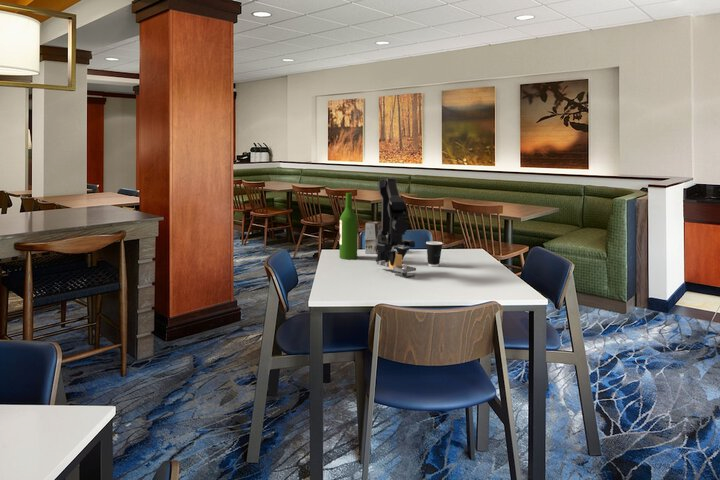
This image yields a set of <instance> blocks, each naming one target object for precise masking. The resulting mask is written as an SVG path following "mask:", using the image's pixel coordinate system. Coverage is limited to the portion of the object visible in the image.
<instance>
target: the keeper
mask: <svg viewBox="0 0 720 480" xmlns="http://www.w3.org/2000/svg"><path fill="white" fill-rule="evenodd" d="M402 265H403V266H402V269H407V266H408V265H406V264H402ZM394 276H396V277H399V278H403V279H405V278H411V277H414V276H415V274H413V273H411V272H410V273H409V272H406V273H403V272H398V273H394Z"/></svg>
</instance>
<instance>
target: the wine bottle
mask: <svg viewBox="0 0 720 480" xmlns="http://www.w3.org/2000/svg"><path fill="white" fill-rule="evenodd" d="M358 224H359V223H358V217H357V215H356V213H355V211H354V210H353V193H352V192H346V193H345V208H344V210H343V212H342V214H341V215H340V217H339V256H338V257H339V259H341V260H355V259H357V258H358V230H359V229H358Z"/></svg>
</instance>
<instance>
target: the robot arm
mask: <svg viewBox="0 0 720 480" xmlns="http://www.w3.org/2000/svg"><path fill="white" fill-rule="evenodd" d="M377 190H378V194H379V195H380V197H381V227H380V229H379V233H378V237H377V239H376V244H375V246H376V250H378V252H377V253H376V255H377V257H376V259H375V262H377V261H383V260H384V261H385V262H389V261H390V264H391V265H392V266H393V264H394V260H395V255H396V254H401V255H402V261H403V259H404V258H405V255H406V254H407V252H408V251H409V250H410V248H415V247H416V242H415V240H411V239H403V238H404V237H403V235H404V236H405V234H406V233H407V230H408V229H409V222H407V220H405V218H409V217H408V216H409V211H408V206H407V203H406V202H405V200H404V198H403V197H401V196H400V194H399V189H398V182H397V179H396V178H394V177H392V178H391V177H387V178H386V177H385V178H384V179H380V180H378V181H377ZM408 247H409V248H408Z"/></svg>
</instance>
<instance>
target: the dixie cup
mask: <svg viewBox="0 0 720 480" xmlns="http://www.w3.org/2000/svg"><path fill="white" fill-rule="evenodd" d="M425 244H426V254H427V255H426V256H427V264H428V266H429V267H436V266H437V267H439V265H440V262H441V255H442V247H443V244H444V243H443V242H442V241H433V240H431V241H426V242H425ZM437 267H436V268H437Z"/></svg>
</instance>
